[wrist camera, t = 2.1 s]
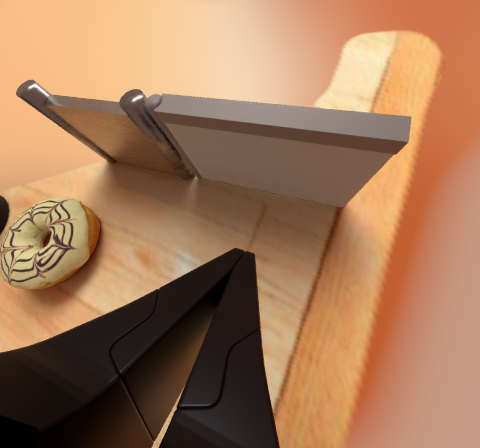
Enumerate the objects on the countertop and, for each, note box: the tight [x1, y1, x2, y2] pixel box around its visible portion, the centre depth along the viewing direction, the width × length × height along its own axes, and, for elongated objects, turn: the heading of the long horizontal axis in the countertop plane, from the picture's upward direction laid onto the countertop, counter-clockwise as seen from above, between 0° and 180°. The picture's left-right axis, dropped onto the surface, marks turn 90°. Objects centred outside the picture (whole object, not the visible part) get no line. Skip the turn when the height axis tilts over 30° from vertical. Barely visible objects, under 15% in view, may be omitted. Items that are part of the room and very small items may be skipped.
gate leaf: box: [145, 94, 411, 208], centre depth 16 cm, size 17×2×10 cm, turn 72°
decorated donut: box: [0, 198, 100, 289], centre depth 22 cm, size 10×11×4 cm
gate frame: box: [16, 80, 195, 180], centre depth 20 cm, size 14×2×10 cm, turn 72°
